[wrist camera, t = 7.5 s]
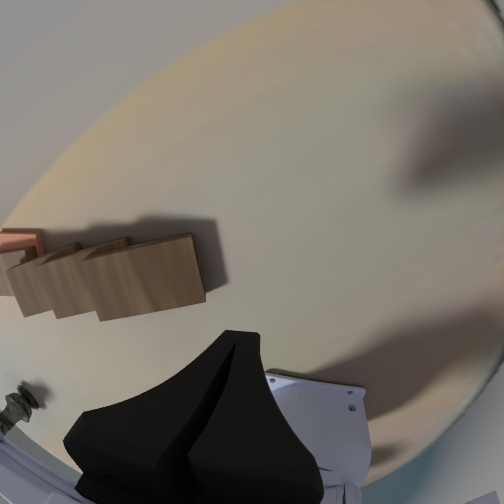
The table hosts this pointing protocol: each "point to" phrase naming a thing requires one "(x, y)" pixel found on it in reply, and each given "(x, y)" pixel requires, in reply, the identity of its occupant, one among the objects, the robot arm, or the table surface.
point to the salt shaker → (17, 409)
